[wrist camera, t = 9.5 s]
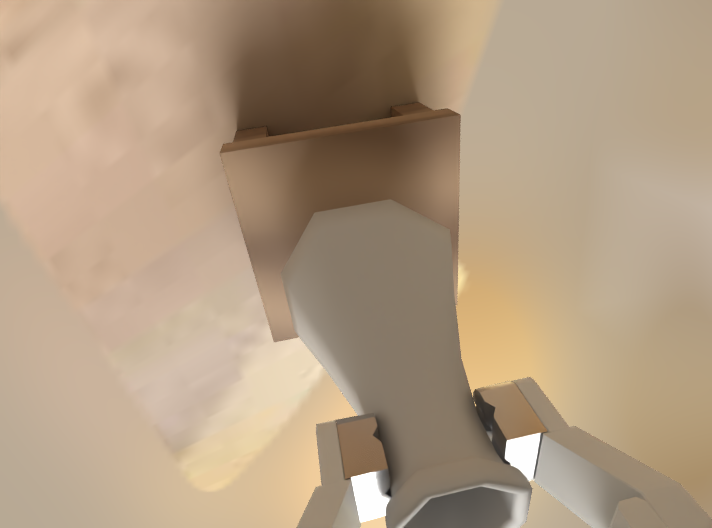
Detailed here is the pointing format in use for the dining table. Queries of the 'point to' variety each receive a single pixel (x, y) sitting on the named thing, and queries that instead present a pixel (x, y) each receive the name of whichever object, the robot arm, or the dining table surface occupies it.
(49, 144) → the dining table surface
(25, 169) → the dining table surface
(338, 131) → the walnut stand
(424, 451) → the flask
